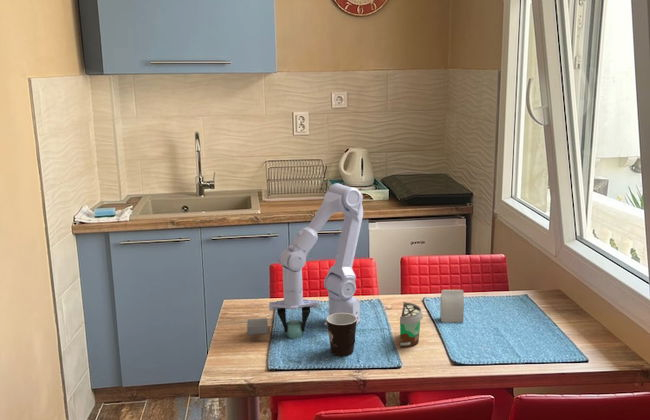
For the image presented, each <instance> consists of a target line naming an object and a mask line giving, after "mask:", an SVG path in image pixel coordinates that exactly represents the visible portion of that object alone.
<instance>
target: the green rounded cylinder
mask: <svg viewBox="0 0 650 420" xmlns="http://www.w3.org/2000/svg"><path fill="white" fill-rule="evenodd" d="M286 324H287V332H286V337H287V336H288V337H287V338H289V339H299V338H301V337H302V336H303V332H302V320H299V319H291V320H289V321H286Z"/></svg>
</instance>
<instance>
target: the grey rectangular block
mask: <svg viewBox="0 0 650 420" xmlns="http://www.w3.org/2000/svg"><path fill="white" fill-rule="evenodd" d="M440 291H441V293H440V294H441V295H440V308H439V309H440V315H439V316H440V317H439V318H440V321H442V322H441V323H464V318H465V317H464V315H465V314H464V312H465V307H464V306H465V300H464V298H465V297H464V296H465V295H464V289H441V290H440Z"/></svg>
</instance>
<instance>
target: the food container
mask: <svg viewBox="0 0 650 420" xmlns="http://www.w3.org/2000/svg"><path fill="white" fill-rule="evenodd" d="M402 304H403V306H402V311H401V316H399V324H400V325H399V328H400V329H399V333H400V334H399V339H400V340H399V341H400V343H399V345H400V346H399V347H400V348H399V349H401V348H402V349H405V348H406V349H407V348H412V347H415V346H417V345H418V344H419V340H420V331H421V329H420V328H421V320H422V319H423V318H424V315H423V310H422V308H421V307H420V306H419V305H417V304H416V303H412V302H407V301H405V302H404V301H403V303H402Z"/></svg>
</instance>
